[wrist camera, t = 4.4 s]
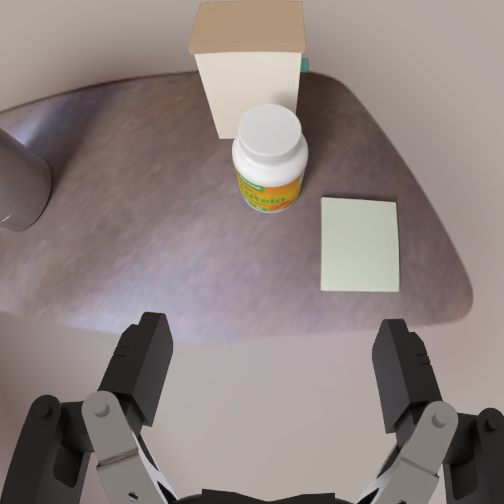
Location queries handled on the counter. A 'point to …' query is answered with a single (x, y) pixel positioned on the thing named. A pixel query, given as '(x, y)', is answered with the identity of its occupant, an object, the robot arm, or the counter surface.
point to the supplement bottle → (270, 157)
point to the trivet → (359, 246)
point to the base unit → (248, 56)
